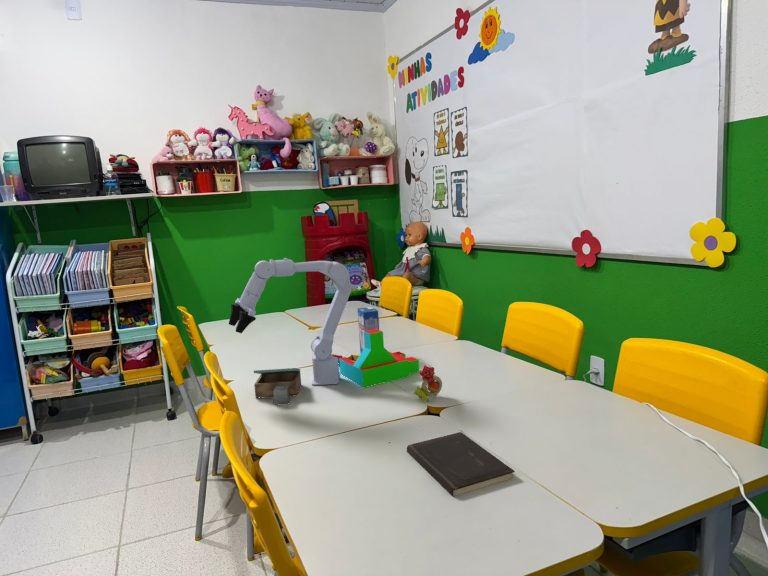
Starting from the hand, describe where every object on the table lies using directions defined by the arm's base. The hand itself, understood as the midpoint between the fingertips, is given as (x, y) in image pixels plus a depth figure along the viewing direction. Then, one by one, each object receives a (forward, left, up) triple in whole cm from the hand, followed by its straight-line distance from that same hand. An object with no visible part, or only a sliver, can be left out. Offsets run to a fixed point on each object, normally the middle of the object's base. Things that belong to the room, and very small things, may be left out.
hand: (234, 328), depth 175 cm
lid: (-13, 0, -17) cm, 21 cm away
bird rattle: (-64, +15, -24) cm, 70 cm away
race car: (-28, -27, -24) cm, 46 cm away
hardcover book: (-66, +58, -24) cm, 92 cm away
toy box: (-13, 0, -23) cm, 27 cm away
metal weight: (-16, +10, -24) cm, 30 cm away
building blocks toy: (-49, -12, -24) cm, 56 cm away
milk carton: (-45, -37, -24) cm, 63 cm away
